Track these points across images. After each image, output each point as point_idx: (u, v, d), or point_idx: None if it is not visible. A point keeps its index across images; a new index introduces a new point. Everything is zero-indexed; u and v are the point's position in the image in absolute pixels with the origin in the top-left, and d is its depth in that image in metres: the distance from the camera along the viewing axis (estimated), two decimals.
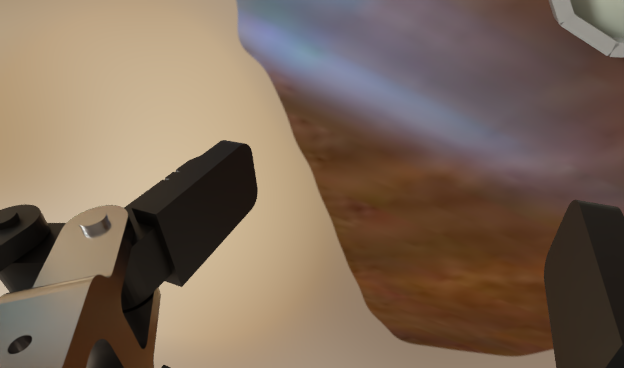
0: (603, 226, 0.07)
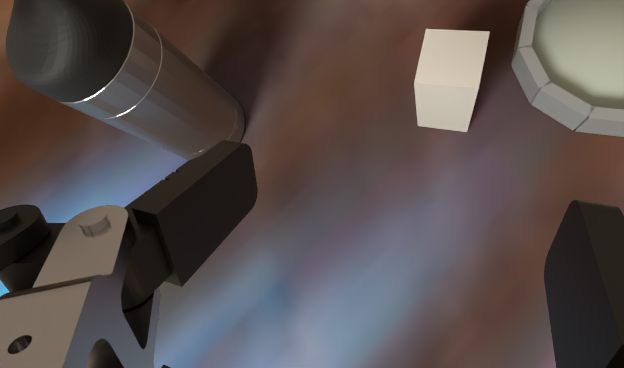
0: (603, 226, 0.07)
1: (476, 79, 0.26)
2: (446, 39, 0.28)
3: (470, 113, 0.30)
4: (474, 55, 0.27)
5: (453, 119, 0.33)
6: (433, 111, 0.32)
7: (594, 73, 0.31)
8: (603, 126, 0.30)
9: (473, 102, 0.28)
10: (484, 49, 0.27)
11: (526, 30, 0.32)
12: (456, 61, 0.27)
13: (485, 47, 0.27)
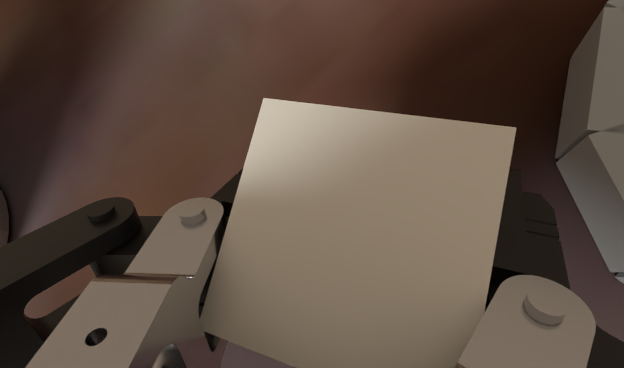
0: None
1: None
2: (331, 148, 0.07)
3: None
4: (445, 243, 0.06)
5: None
6: None
7: None
8: None
9: None
10: (491, 216, 0.06)
11: (610, 80, 0.11)
12: (363, 259, 0.06)
13: (496, 206, 0.06)
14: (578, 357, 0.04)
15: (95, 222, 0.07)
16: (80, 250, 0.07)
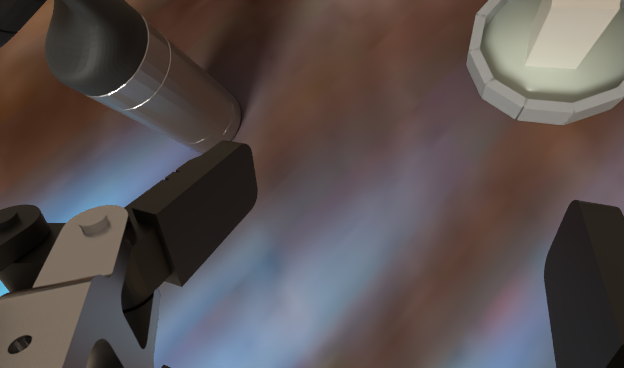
0: (603, 226, 0.07)
1: (616, 1, 0.28)
2: None
3: (592, 43, 0.32)
4: None
5: (569, 53, 0.34)
6: (552, 44, 0.34)
7: (532, 71, 0.37)
8: (537, 115, 0.36)
9: (603, 28, 0.30)
10: None
11: (476, 35, 0.38)
12: None
13: None
14: None
15: (0, 229, 0.07)
16: None
